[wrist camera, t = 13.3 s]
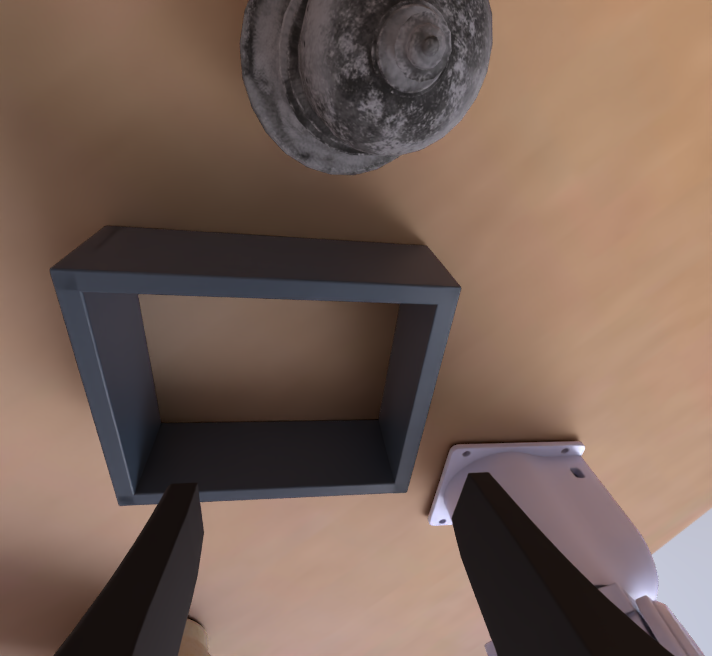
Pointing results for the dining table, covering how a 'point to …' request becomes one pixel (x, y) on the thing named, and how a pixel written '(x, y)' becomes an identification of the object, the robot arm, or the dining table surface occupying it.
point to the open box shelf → (250, 439)
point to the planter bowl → (194, 640)
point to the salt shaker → (362, 75)
